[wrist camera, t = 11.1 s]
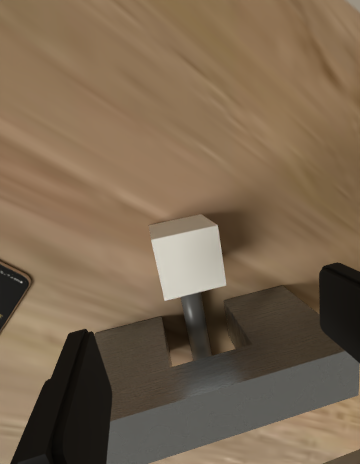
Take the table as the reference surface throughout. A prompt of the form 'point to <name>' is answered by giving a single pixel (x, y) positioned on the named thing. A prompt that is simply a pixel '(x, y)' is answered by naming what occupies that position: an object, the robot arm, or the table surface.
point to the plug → (189, 270)
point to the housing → (221, 378)
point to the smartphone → (11, 290)
